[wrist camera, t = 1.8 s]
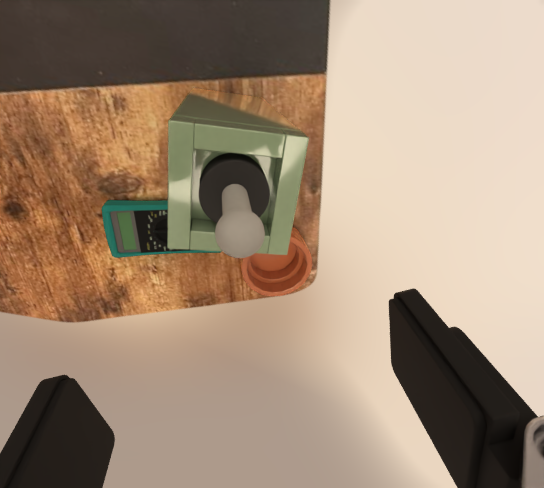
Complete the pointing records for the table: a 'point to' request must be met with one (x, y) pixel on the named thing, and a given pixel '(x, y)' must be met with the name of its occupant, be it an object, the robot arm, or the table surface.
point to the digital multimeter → (138, 228)
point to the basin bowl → (278, 268)
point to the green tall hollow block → (231, 139)
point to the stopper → (235, 202)
